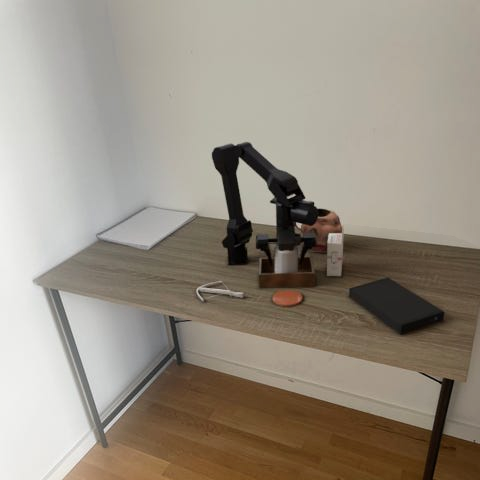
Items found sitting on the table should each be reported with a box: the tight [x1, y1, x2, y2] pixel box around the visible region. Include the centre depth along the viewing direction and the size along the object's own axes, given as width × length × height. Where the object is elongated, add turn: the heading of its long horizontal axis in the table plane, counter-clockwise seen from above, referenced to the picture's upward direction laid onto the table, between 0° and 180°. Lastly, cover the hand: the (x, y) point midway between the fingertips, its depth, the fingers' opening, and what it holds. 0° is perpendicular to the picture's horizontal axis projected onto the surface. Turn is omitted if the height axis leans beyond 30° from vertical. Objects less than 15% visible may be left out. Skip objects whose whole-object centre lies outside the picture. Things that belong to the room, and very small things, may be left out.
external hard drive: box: [348, 277, 445, 335], centre depth 132 cm, size 14×23×3 cm, turn 24°
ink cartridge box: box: [326, 227, 345, 277], centre depth 151 cm, size 9×5×15 cm, turn 168°
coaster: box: [272, 289, 303, 307], centre depth 141 cm, size 9×9×1 cm
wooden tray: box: [258, 255, 316, 289], centre depth 151 cm, size 17×12×5 cm
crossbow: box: [195, 280, 245, 302], centre depth 146 cm, size 16×13×2 cm
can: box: [273, 244, 299, 273], centre depth 149 cm, size 8×8×12 cm
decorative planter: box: [295, 207, 345, 254], centre depth 168 cm, size 20×12×14 cm, turn 60°
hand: (286, 265), depth 150 cm, fingers open, 9 cm apart
